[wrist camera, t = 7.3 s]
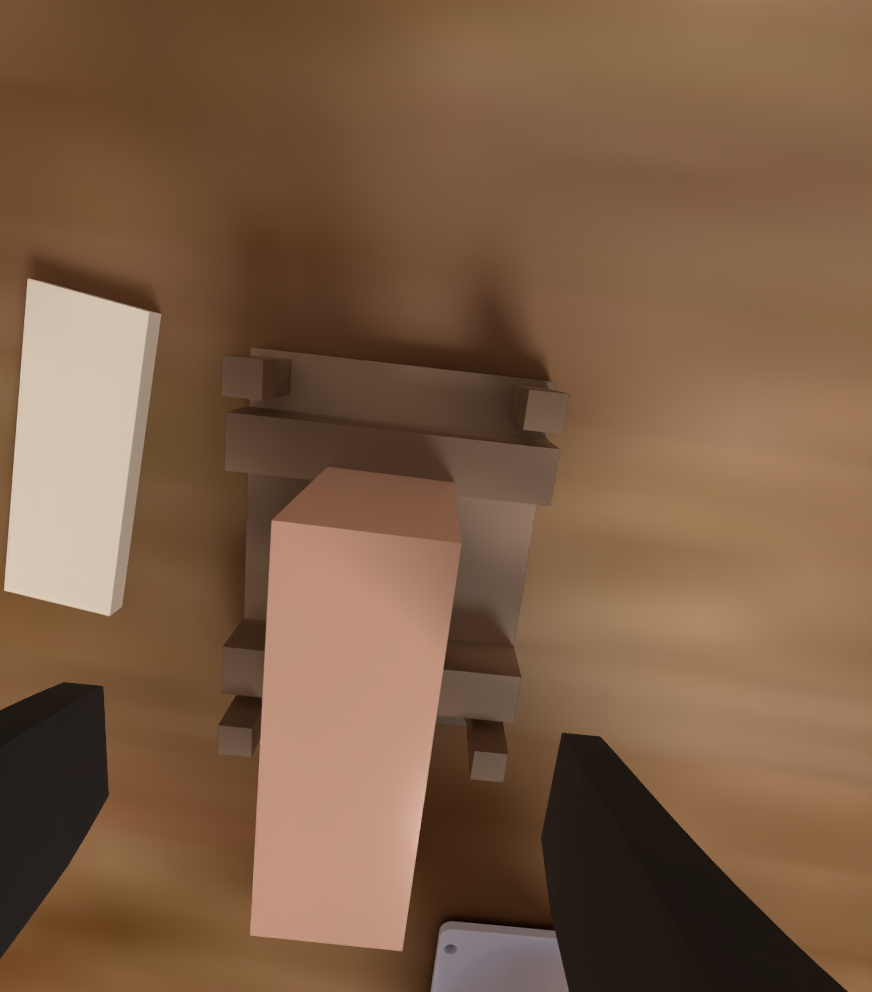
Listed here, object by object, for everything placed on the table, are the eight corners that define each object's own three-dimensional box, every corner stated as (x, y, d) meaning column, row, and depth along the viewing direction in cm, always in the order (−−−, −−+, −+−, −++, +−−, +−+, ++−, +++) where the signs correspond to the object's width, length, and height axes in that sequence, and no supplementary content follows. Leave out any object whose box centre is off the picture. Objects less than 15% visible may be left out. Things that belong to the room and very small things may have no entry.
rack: (497, 715, 20) (508, 788, 16) (250, 690, 19) (211, 759, 16) (551, 381, 17) (578, 386, 13) (259, 348, 16) (213, 345, 13)
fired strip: (129, 600, 19) (109, 616, 18) (31, 576, 19) (4, 590, 18) (169, 315, 17) (149, 311, 16) (56, 283, 17) (27, 278, 15)
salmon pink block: (413, 783, 17) (402, 951, 12) (304, 772, 17) (250, 935, 12) (454, 482, 15) (462, 543, 10) (327, 466, 15) (271, 520, 10)
